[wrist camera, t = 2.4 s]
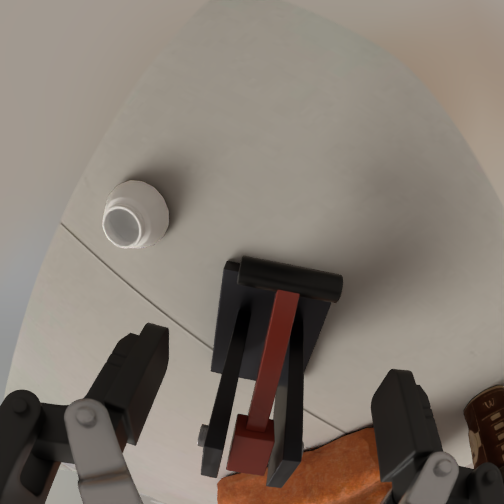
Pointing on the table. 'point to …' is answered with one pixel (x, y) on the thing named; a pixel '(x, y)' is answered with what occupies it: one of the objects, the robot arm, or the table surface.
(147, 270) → the table surface
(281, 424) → the bracket
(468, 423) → the coffee cup
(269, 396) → the lever
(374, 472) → the bread
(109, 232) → the white jar
